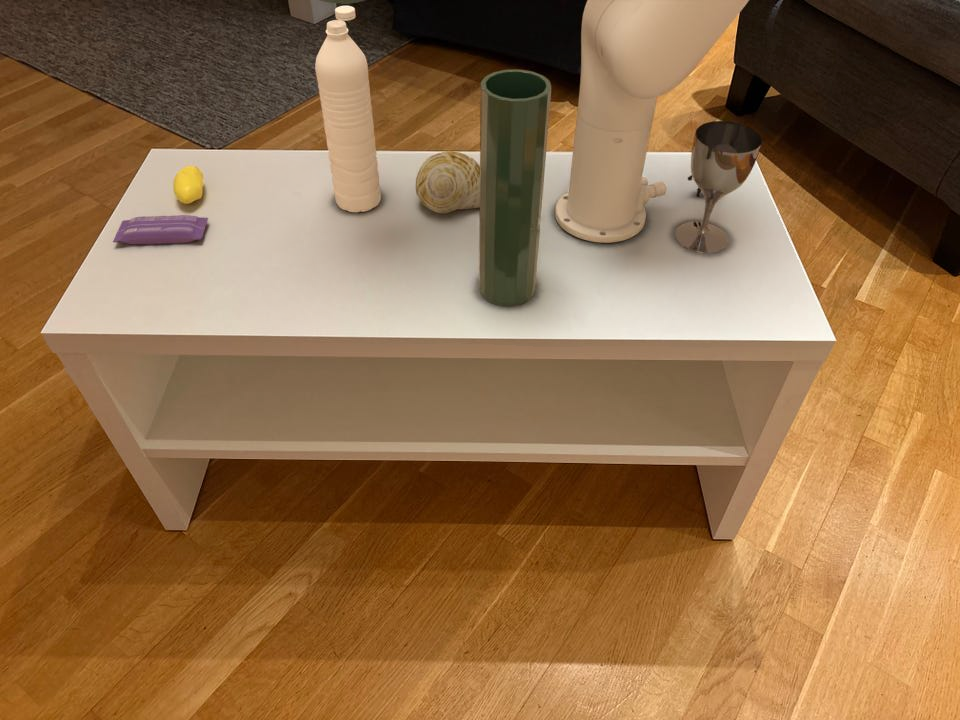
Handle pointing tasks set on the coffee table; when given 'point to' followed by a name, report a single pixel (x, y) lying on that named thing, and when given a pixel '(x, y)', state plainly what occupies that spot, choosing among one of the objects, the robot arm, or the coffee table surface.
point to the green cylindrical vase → (511, 182)
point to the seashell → (449, 182)
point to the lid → (342, 1)
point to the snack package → (161, 229)
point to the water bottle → (348, 117)
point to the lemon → (188, 184)
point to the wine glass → (717, 176)
